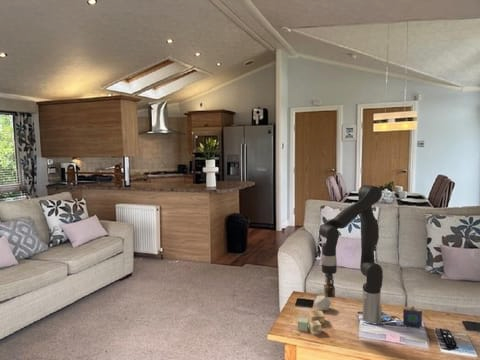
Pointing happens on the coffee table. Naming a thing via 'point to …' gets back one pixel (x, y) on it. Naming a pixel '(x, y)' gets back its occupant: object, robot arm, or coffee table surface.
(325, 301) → the die
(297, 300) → the coffee table surface
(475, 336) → the coffee table surface
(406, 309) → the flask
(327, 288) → the walnut block
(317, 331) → the beech block
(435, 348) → the coffee table surface
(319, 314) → the oak base
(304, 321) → the sage block
